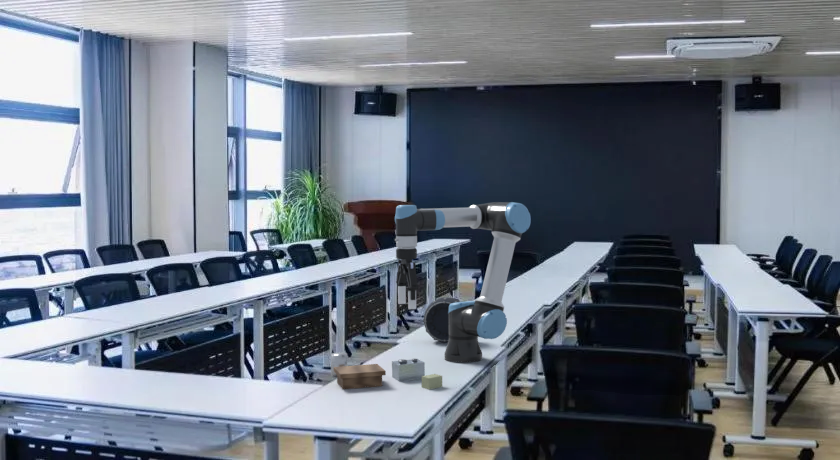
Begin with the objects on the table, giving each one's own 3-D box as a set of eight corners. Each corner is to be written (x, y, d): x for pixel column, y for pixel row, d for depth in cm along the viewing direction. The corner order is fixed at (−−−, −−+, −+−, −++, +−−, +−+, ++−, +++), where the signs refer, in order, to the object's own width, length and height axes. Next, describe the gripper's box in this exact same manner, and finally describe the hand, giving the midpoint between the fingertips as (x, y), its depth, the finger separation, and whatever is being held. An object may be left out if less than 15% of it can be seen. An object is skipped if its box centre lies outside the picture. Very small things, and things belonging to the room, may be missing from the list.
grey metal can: (345, 373, 313) (345, 352, 313) (349, 376, 308) (348, 355, 307) (329, 374, 312) (329, 353, 311) (332, 378, 306) (332, 356, 305)
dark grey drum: (467, 345, 365) (466, 299, 364) (422, 343, 369) (421, 298, 368) (470, 340, 375) (470, 296, 374) (426, 339, 379) (426, 295, 378)
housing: (417, 375, 310) (417, 356, 309) (424, 379, 303) (424, 360, 303) (392, 377, 306) (391, 359, 306) (398, 381, 300) (398, 362, 299)
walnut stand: (377, 378, 303) (377, 363, 303) (385, 386, 292) (385, 370, 292) (333, 382, 299) (333, 367, 299) (340, 390, 287) (340, 374, 287)
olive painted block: (435, 385, 294) (434, 373, 294) (442, 387, 291) (442, 375, 291) (421, 387, 290) (421, 376, 290) (428, 389, 287) (428, 378, 287)
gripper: (387, 245, 313) (388, 302, 314) (405, 250, 289) (406, 311, 290) (407, 245, 315) (407, 301, 316) (426, 250, 291) (427, 310, 292)
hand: (407, 306), depth 303 cm, fingers open, 13 cm apart
